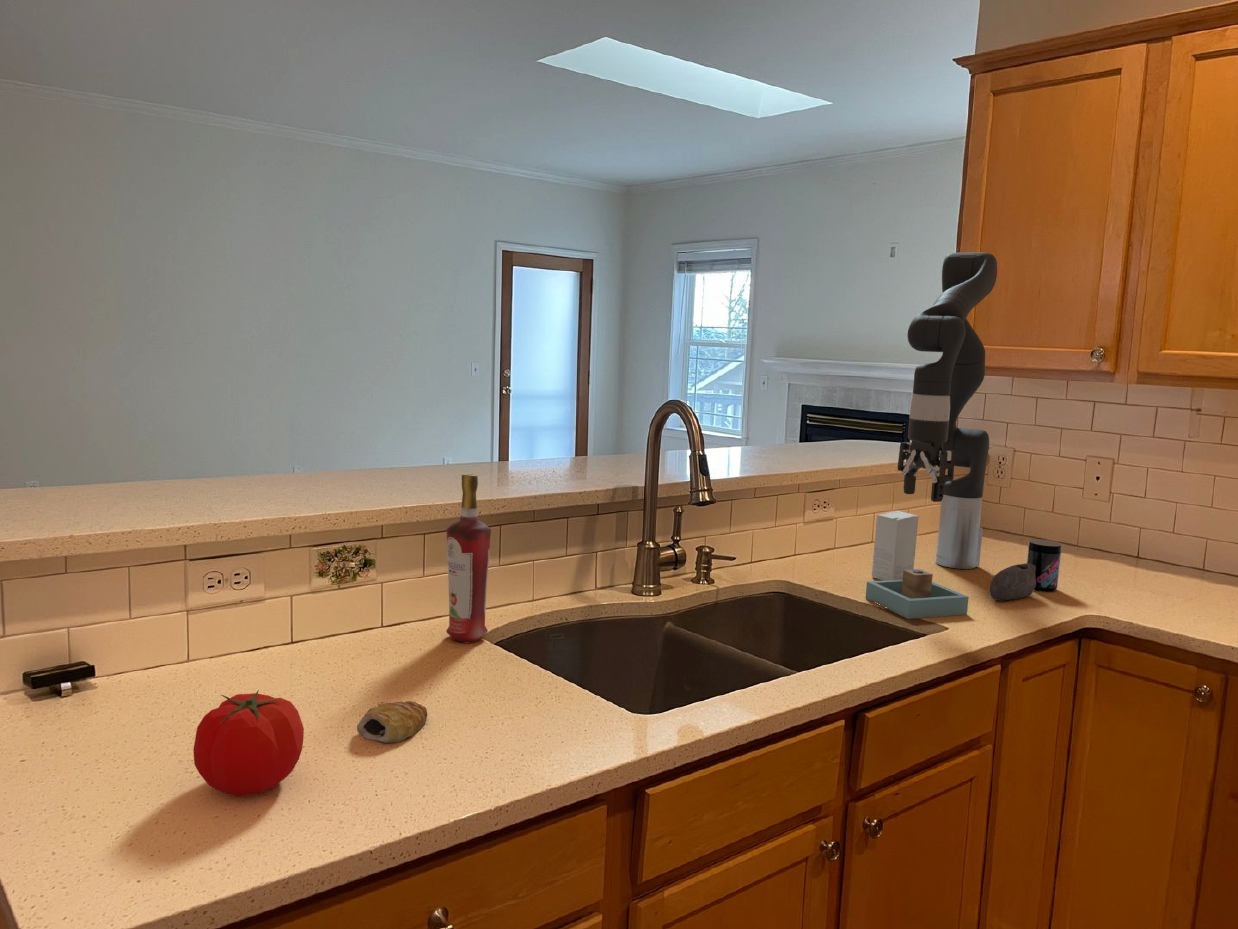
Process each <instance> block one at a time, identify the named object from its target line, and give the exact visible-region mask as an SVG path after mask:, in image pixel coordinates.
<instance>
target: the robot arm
mask: <svg viewBox="0 0 1238 929" xmlns="http://www.w3.org/2000/svg"><path fill="white" fill-rule="evenodd" d="M997 277H998V262H997V259H996V256H995V255H994V254H992V253H989V252H984V251H983V252H982V251H981V252H977V251H976V252H971V251H970V252H969V251H968V252H965V251H964V252H950V253H947V254H946V255H945V257H944V259H943V262H942V268H941V289H942V292H941V294H940V295H938V297H937V298H936V300H935V301H934V303H933V304H932V305H931V306H930V307H928V308H926V309H924V310H923V311H921V312H919V313H918V314H917V315H916V316H915V317H914V318H913V319H912V321H911V322H910V324H909V327H908V329H907V342H908V344H909V345H910V347H911V348H912V349H914V350H915V351H918V352H928V353H930V352H931V353H932V352H933V353H942V354H941V357H940V358H939V359H938V360H936V362H930V363H924V364H919V365H918V366H916V367H915V369H914V374H913V386H912V395H911V401H910V406H909V417H908V418H909V419H908V431H907V432H908V433H907V438H908V440H909V441H911V442H907V441H905V442H900V445H899V452H898V461H897V471H899V472H902V474H903V476H904V477H903V478H904V479H903V493H904V494H905V495H914V494H915V492H916V484H917V483H916V482H917V476H916V474H917V472H919V470H920V469H926V472H927V473H928V474H929V475H930V477H931V480H932V483H931V492H930V493H931V494H930V501H931V502H934V503H936V502H937V503H939V502H940V512H939V520H938V521H939V522H938V530H937V531H938V532H937V533H938V534H937V544H936V552H935V553H936V556H935V563H936V564H937V565H939V566H942V567H946V568H950V569H952V568H953V569H957V570H958V569H959V570H960V569H961V570H962V569H963V570H968V569H969V570H970V569H975V568H976V567H980V563H981V562H980V561H981V551H982V542H983V532H984V529H983V527H981V516H982V508H983V507H982V505H983V497H984V487H985V486H984V485H985V478H986V469H987V463H988V458H989V457H988V456H989V449H990V436H989V433H988V432H987V431H986V430H983V429H977V428H976V429H975V428H961V427H957V421H958V418H959V415H960V414H961V412H962V411H963V409H964V408H965V406H966V405H967V403H968V402H969V400H970V399H971V398H972V397H973V396H974V394H975V393H976V392H977V390H978V389H979V388H980V386H981V385H982V383H983V381H984V379H985V374H986V373H985V371H986V370H985V369H986V368H985V367H986V349H985V346H984V344H983V342H982V340H981V339H980V337H979V335H978V334H977V332H976V331H975V330H974V328H973V327H972V325H971V323H970V321H968V319H967V317H968V315H969V313H970V312H971V311H972V310H973V308H975V307H976V306H977V305H978V304H979V303H981V302H982V301H983V300H984V299H985V298H986V297H987V296H988V295H989V294H990V293H991V292H992V291H993V289H994V287H995V285H996V283H997V279H998V278H997ZM904 463H905V464H904ZM955 467H959V468H968V469H969V468H970V470H969V472H968V473H967V474H966V475H964V476H962V477H959V478H955V477H954V476H955V474H954V472H955V471H954V470H955ZM946 470H947V474H946Z"/></svg>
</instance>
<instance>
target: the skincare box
mask: <svg viewBox="0 0 1238 929" xmlns="http://www.w3.org/2000/svg"><path fill="white" fill-rule="evenodd" d="M919 518H920V516H919V515H916V514H913V513H909V512H905V511H900V510H895V511H891V512H890V511H889V512H886V513H881V514H877V515H876V524H875V535H874V537H875V538H874V545H873V556H872V557H873V558H872V567H871V568H872V569H871V577H872V578H873V579H876V578H877V579H876V580H879V581H885V580H902V579H903V571H904V570H914V567H915V559H916V549H917V536H918V527H919V526H918V525H919Z"/></svg>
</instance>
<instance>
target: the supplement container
mask: <svg viewBox="0 0 1238 929" xmlns="http://www.w3.org/2000/svg"><path fill="white" fill-rule="evenodd" d="M1062 549H1063V544H1062V543H1060V542H1058V541H1054V540H1047V539H1037V538H1036V539H1034V538H1033V539H1030V540H1028V545H1027V557H1026V563H1030V564H1032V565H1034V566H1036V571H1035V578H1036V587H1035V589H1034V590H1033V591H1035V590H1036V592H1041V591H1042V592H1043V593H1053V592H1055V591H1057V590H1058V585H1059V576H1060V575H1059V574H1060V567H1061V556H1062ZM1042 592H1041V593H1042Z"/></svg>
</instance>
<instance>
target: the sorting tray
mask: <svg viewBox="0 0 1238 929" xmlns="http://www.w3.org/2000/svg"><path fill="white" fill-rule="evenodd" d="M902 582H903V579H902V580H885V581H883V580H870V581H866V587H865V588H866V589H865V599H866V600H868V599H869V600H868V601H870V602H872V601H874V602H876V603H878V604H880V605H881V606H880V605H879V606H880V607H882V606H883V607H882V608H884V607H887V608H888V609H889V610H888V609H887V610H888V611H890V610H891V611H890V612H892V611H893V613H895V614H897V615H899V616H901V617H904V618H905V619H907V620H908V619H909V620H911V619H922V618H923V619H925V618H938V617H948V616H950V617H951V616H965V614H966V615H968V606H969V596H967V595H966V594H963V593H961V592H958V591H955V590H953V589H951V588H948V587H946V586H943V585H941V584H938V583H937V582H936V583H935V581H932V587H931V597H929V598H914V599H910V598H908V597H906V596H903V595H901V594H902ZM874 602H873V603H874ZM876 603H875V604H876ZM878 604H877V605H878Z"/></svg>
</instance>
